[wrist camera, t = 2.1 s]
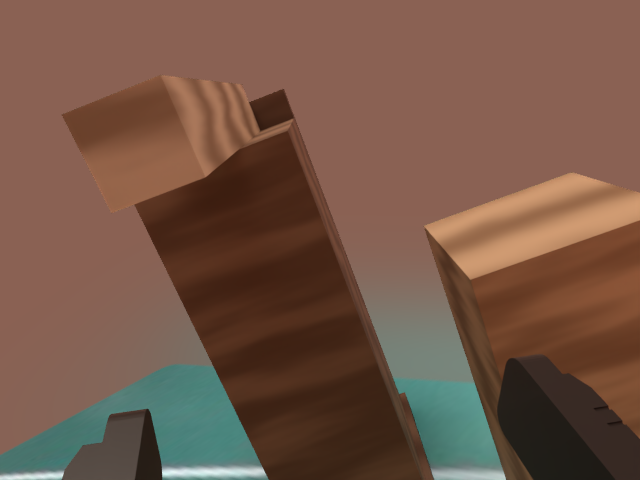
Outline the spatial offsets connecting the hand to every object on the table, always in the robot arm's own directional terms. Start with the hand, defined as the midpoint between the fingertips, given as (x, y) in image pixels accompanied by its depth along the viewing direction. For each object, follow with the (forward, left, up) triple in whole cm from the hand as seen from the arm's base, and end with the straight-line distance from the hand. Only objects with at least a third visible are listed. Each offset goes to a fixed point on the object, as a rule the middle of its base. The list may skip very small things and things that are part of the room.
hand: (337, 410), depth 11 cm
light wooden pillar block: (+1, +21, -27) cm, 34 cm away
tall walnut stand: (-18, +22, -27) cm, 39 cm away
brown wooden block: (-15, +16, +5) cm, 23 cm away
